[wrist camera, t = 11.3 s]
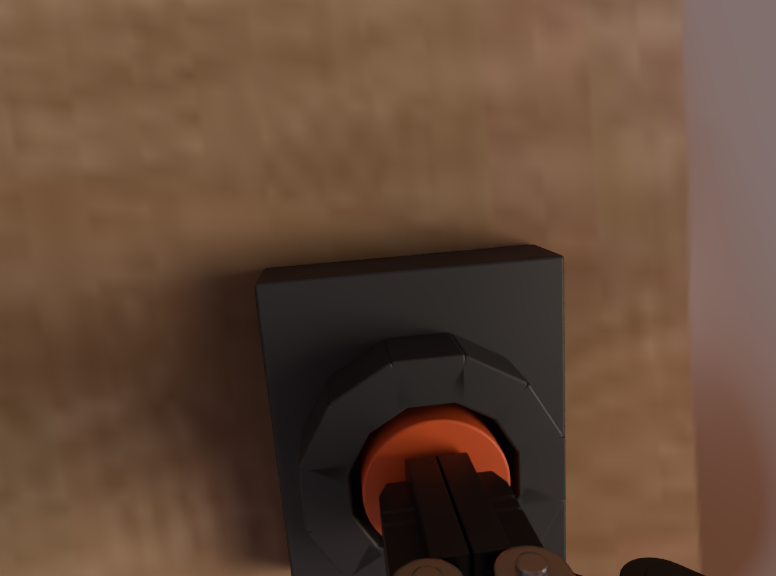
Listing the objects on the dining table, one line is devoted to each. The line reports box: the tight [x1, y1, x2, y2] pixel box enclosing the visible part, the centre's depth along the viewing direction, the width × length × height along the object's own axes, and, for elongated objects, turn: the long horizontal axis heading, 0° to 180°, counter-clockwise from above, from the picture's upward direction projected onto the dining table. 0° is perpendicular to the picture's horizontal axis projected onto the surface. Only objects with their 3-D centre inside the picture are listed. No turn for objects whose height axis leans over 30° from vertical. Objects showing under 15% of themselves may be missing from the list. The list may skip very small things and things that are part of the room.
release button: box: [359, 403, 510, 536], centre depth 14 cm, size 4×4×2 cm
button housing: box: [254, 245, 566, 576], centre depth 16 cm, size 8×10×4 cm
